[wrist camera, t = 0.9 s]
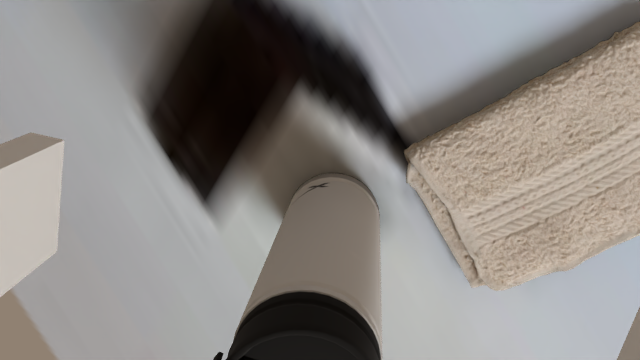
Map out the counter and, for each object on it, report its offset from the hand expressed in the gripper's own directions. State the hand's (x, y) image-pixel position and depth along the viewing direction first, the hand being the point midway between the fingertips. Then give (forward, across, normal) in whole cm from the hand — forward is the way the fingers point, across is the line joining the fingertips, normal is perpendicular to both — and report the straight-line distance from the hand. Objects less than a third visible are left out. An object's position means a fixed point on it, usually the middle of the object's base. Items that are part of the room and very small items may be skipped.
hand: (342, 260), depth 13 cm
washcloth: (+26, +13, -2) cm, 30 cm away
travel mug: (+26, 0, -9) cm, 27 cm away
